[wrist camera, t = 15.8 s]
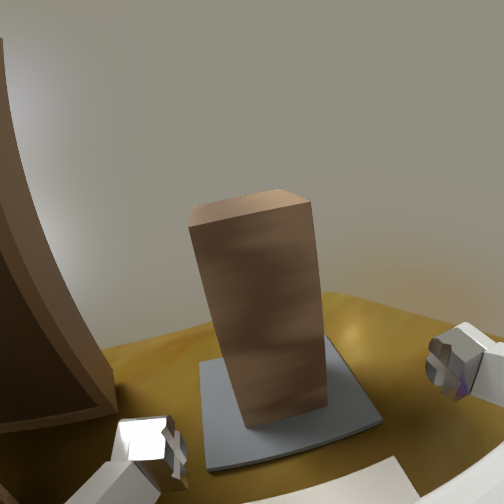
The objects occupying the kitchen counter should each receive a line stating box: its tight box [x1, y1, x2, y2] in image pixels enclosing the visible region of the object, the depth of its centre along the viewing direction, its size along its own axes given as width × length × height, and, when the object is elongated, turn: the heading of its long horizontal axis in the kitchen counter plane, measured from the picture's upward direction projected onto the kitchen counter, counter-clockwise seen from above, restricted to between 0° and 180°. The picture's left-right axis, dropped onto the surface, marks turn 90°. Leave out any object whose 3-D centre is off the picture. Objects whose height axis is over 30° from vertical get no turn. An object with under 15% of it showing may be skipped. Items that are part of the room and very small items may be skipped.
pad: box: [199, 334, 383, 472], centre depth 18 cm, size 10×10×1 cm
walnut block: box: [189, 189, 328, 428], centre depth 16 cm, size 5×5×12 cm
